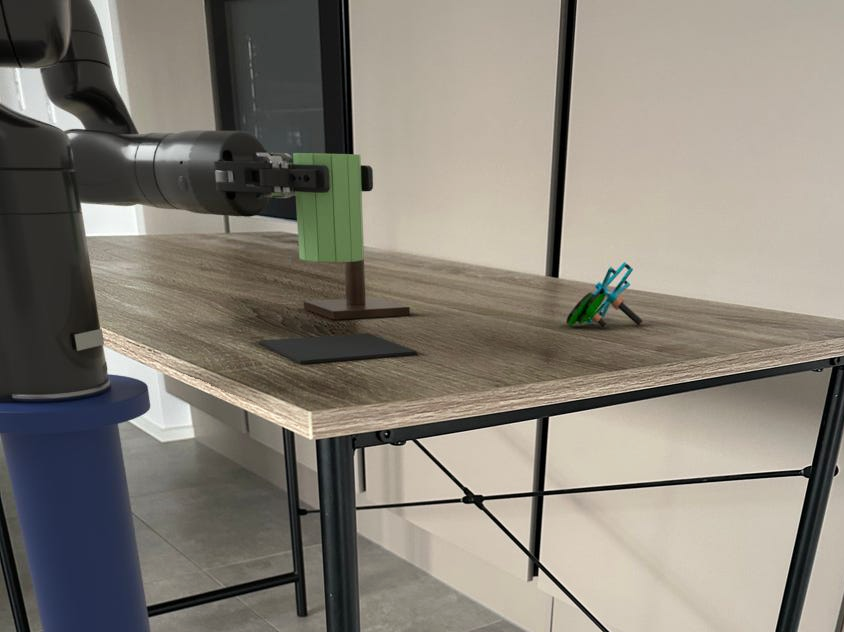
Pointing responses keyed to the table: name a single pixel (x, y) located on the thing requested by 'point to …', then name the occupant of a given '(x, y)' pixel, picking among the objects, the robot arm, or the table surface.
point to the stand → (356, 300)
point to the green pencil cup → (331, 211)
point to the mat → (336, 348)
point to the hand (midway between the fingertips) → (349, 178)
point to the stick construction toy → (594, 300)
